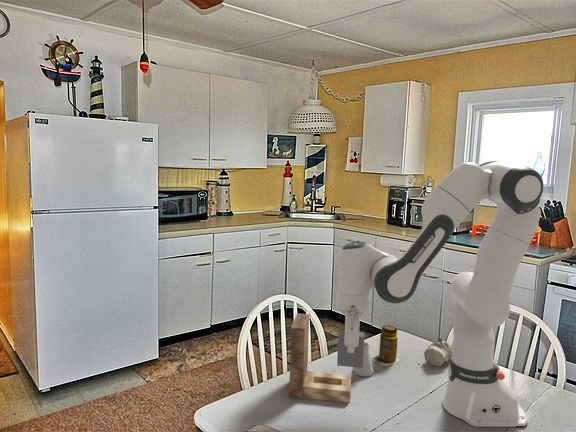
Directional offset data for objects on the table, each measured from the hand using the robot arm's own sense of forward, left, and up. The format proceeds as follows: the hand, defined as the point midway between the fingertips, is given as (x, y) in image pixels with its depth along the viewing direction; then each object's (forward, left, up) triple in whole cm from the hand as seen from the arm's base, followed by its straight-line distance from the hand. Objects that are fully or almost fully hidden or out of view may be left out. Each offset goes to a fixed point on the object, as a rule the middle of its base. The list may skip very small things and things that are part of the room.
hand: (350, 348), depth 128 cm
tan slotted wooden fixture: (+9, -10, -19) cm, 23 cm away
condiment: (-12, -36, -19) cm, 43 cm away
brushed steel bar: (0, 0, -5) cm, 5 cm away
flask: (-4, -25, -19) cm, 32 cm away
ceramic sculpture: (-31, -40, -20) cm, 54 cm away
